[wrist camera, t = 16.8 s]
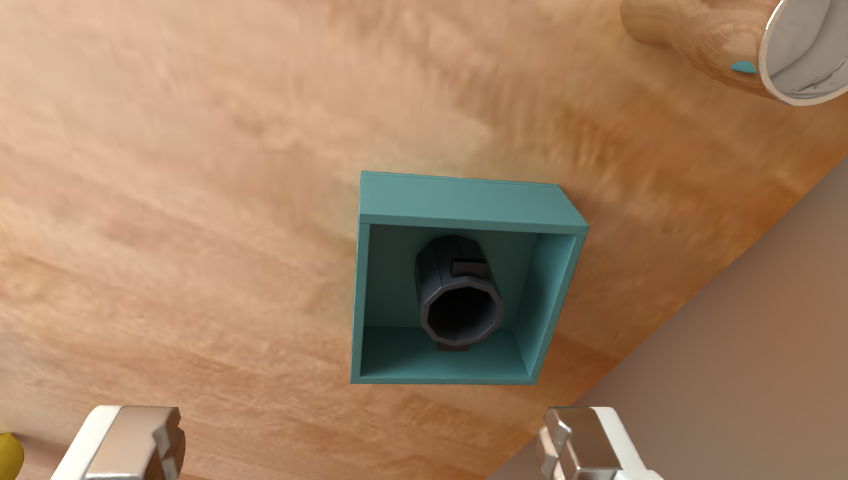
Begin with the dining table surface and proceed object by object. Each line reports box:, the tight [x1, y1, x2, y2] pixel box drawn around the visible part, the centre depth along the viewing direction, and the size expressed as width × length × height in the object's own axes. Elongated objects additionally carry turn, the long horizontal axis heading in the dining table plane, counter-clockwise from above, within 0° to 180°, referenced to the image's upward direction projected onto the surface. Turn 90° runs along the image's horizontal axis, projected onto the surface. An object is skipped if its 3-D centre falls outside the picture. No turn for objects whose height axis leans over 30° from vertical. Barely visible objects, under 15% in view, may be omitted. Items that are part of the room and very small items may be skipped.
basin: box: [350, 171, 589, 385], centre depth 41 cm, size 17×17×7 cm
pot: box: [414, 235, 504, 351], centre depth 41 cm, size 9×6×7 cm
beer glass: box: [620, 0, 848, 106], centre depth 28 cm, size 7×7×15 cm
